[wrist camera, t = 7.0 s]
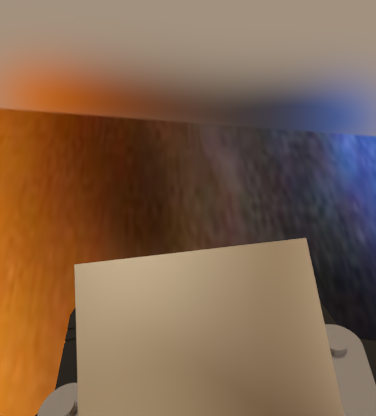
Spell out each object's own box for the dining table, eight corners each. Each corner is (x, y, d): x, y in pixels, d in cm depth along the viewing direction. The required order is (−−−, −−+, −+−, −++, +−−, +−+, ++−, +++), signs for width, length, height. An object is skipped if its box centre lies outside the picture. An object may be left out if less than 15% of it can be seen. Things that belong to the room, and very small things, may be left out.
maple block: (147, 387, 15) (82, 559, 5) (139, 285, 16) (74, 264, 6) (246, 374, 15) (365, 514, 5) (230, 274, 16) (305, 237, 6)
